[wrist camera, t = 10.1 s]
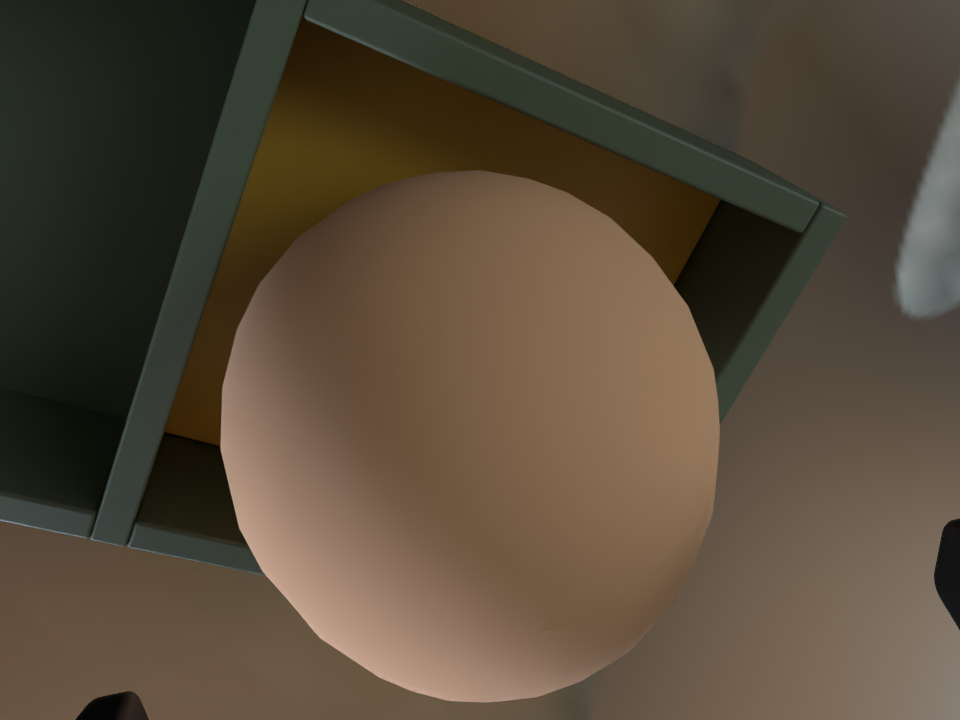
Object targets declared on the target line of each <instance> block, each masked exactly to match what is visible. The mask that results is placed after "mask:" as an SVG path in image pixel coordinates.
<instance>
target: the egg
mask: <svg viewBox="0 0 960 720" xmlns="http://www.w3.org/2000/svg"><path fill="white" fill-rule="evenodd" d="M719 438H720V426H719V407H718V397H717V389H716V382H715V375H714V368H713V366H712V364H711V361H710V359H709V356H708V354H707V351H706V349H705V346H704V344H703V341H702V339H701V336H700V334H699V332H698V329H697V327H696V324H695V322H694V319H693V317H692V314H691V312H690V309H689V307H688V305H687V304H686V303H685V301H684V300H683V298H682V297H681V296H680V294H679V293H678V292H677V290H676V289H675V287H674V286H673V285H672V283H671V282H670V281H669V279H668V278H667V276H666V275H665V274H664V272H663V271H662V270H661V268H660V267H659V265H658V264H657V263H656V261H655V260H654V258H653V257H652V256H651V255H650V254H649V253H647V252H646V251H645V250H644V249H643V248H642V247H641V246H640V245H639V244H638V243H637V242H636V241H635V240H634V239H633V238H631V237H630V236H629V235H628V234H627V233H626V232H625V231H624V230H623V229H622V228H621V227H620V226H619V225H618V224H617V223H615V222H614V221H613V220H612V219H611V218H610V217H608V216H607V215H605V214H603V213H601V212H600V211H598V210H596V209H595V208H593V207H591V206H590V205H588V204H586V203H584V202H583V201H581V200H579V199H578V198H576V197H574V196H573V195H571V194H569V193H567V192H565V191H562V190H559V189H556V188H553V187H551V186H548V185H545V184H542V183H539V182H537V181H534V180H531V179H527V178H522V177H516V176H511V175H505V174H500V173H494V172H489V171H483V170H473V171H451V172H438V173H432V174H426V175H420V176H415V177H411V178H407V179H403V180H400V181H396V182H392V183H389V184H385V185H382V186H380V187H377V188H375V189H373V190H371V191H369V192H366V193H364V194H362V195H360V196H358V197H356V198H353V199H351V200H350V201H348V202H347V203H346V204H344V205H343V206H341V207H340V208H338V209H337V210H336V211H334V212H333V213H331V214H330V215H328V216H327V217H326V218H324V219H323V220H321V221H320V222H318V223H317V224H316V225H314V226H313V227H311V228H310V229H308V230H307V231H305V232H304V233H303V234H301V235H300V236H298V238H297V239H296V240H295V241H294V242H293V244H292V245H291V246H290V247H289V248H288V250H287V251H286V252H285V253H284V255H283V256H282V257H281V258H280V259H279V261H278V262H277V263H276V264H275V265H274V267H273V268H272V269H271V270H270V271H269V273H268V274H267V275H266V276H265V277H264V279H263V280H262V281H261V282H260V284H259V285H258V287H257V289H256V291H255V293H254V295H253V298H252V300H251V302H250V304H249V306H248V308H247V310H246V312H245V314H244V316H243V318H242V320H241V322H240V324H239V326H238V328H237V331H236V335H235V339H234V343H233V347H232V351H231V355H230V359H229V363H228V367H227V371H226V375H225V379H224V383H223V387H222V415H221V446H220V449H221V454H222V458H223V462H224V466H225V470H226V475H227V479H228V483H229V487H230V492H231V496H232V500H233V504H234V508H235V513H236V517H237V521H238V525H239V529H240V530H241V532H242V534H243V536H244V538H245V540H246V542H247V543H248V545H249V547H250V549H251V551H252V553H253V555H254V556H255V558H256V560H257V562H258V564H259V566H260V568H261V570H262V571H263V573H264V574H265V575H266V576H267V577H268V578H269V579H270V580H271V582H272V583H273V584H274V585H275V586H276V587H277V588H278V589H279V590H280V592H281V593H282V594H283V595H284V596H285V597H286V598H287V599H288V601H289V602H290V603H291V604H292V605H293V607H294V608H295V609H296V610H297V611H298V613H299V614H300V615H301V616H302V617H303V619H304V620H305V621H306V622H307V623H308V625H309V626H310V627H311V628H312V629H313V631H314V632H315V633H316V634H317V635H318V636H319V638H321V639H322V640H324V641H325V642H327V643H328V644H330V645H331V646H333V647H334V648H336V649H337V650H339V651H340V652H342V653H343V654H345V655H346V656H348V657H349V658H351V659H352V660H354V661H355V662H357V663H358V664H360V665H361V666H363V667H364V668H366V669H367V670H369V671H370V672H372V673H373V674H375V675H376V676H378V677H380V678H382V679H384V680H387V681H389V682H391V683H394V684H396V685H398V686H401V687H403V688H405V689H408V690H410V691H413V692H417V693H421V694H425V695H428V696H432V697H436V698H440V699H443V700H447V701H463V702H496V701H506V700H515V699H525V698H534V697H539V696H542V695H544V694H547V693H550V692H553V691H556V690H559V689H561V688H564V687H567V686H570V685H573V684H576V683H579V682H581V681H583V680H584V679H586V678H587V677H589V676H591V675H592V674H594V673H596V672H597V671H599V670H600V669H602V668H604V667H605V666H607V665H609V664H610V663H612V662H614V661H615V660H617V659H618V658H620V657H622V656H623V655H625V654H626V653H628V652H629V651H631V650H632V648H633V647H634V646H635V645H636V644H637V643H638V642H639V641H640V639H642V637H643V636H644V635H645V634H646V633H647V632H648V631H649V630H650V629H651V628H652V626H653V625H654V624H655V623H656V622H657V621H658V620H659V619H660V618H661V617H662V615H663V614H664V613H665V612H666V611H667V610H668V609H669V608H670V607H671V606H672V605H673V603H674V602H675V601H676V600H677V598H678V596H679V593H680V591H681V589H682V587H683V585H684V583H685V581H686V579H687V577H688V575H689V573H690V571H691V569H692V567H693V564H694V562H695V559H696V557H697V554H698V551H699V549H700V546H701V543H702V541H703V538H704V535H705V533H706V530H707V527H708V525H709V522H710V519H711V517H712V514H713V506H714V496H715V487H716V478H717V468H718V454H719V453H718V452H719Z"/></svg>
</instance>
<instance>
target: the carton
mask: <svg viewBox="0 0 960 720" xmlns="http://www.w3.org/2000/svg"><path fill="white" fill-rule="evenodd" d="M473 170H483V171H489V172H494V173H500V174H505V175H511V176H516V177H522V178H527V179H531V180H534V181H537V182H539V183H542V184H545V185H548V186H551V187H553V188H556V189H559V190H562V191H565V192H567V193H569V194H571V195H573V196H574V197H576V198H578V199H579V200H581V201H583V202H584V203H586V204H588V205H590V206H591V207H593V208H595V209H596V210H598V211H600V212H601V213H603V214H605V215H607V216H608V217H610V218H611V219H612V220H613V221H614V222H615V223H617V224H618V225H619V226H620V227H621V228H622V229H623V230H624V231H625V232H626V233H627V234H628V235H629V236H630V237H631V238H633V239H634V240H635V241H636V242H637V243H638V244H639V245H640V246H641V247H642V248H643V249H644V250H645V251H646V252H647V253H649V254H650V255H651V256H652V257H653V258H654V260H655V261H656V263H657V264H658V265H659V267H660V268H661V270H662V271H663V272H664V274H665V275H666V276H667V278H668V279H669V281H670V282H671V283H672V285H673V286H674V287H675V289H676V290H677V292H678V293H679V294H680V296H681V297H682V298H683V300H684V301H685V303H686V304H687V305H688V307H689V309H690V312H691V314H692V317H693V319H694V322H695V324H696V327H697V329H698V332H699V334H700V336H701V339H702V341H703V344H704V346H705V349H706V351H707V354H708V356H709V359H710V361H711V364H712V366H713V368H714V375H715V382H716V389H717V397H718V407H719V425H720V424H721V422H722V420H723V419H724V417H725V415H726V414H727V412H728V410H729V409H730V407H731V406H732V404H733V402H734V401H735V399H736V398H737V396H738V394H739V393H740V391H741V389H742V388H743V386H744V385H745V383H746V381H747V380H748V378H749V376H750V375H751V373H752V372H753V370H754V368H755V367H756V365H757V363H758V362H759V360H760V358H761V357H762V355H763V354H764V352H765V350H766V349H767V347H768V345H769V344H770V342H771V341H772V339H773V337H774V336H775V334H776V332H777V330H778V329H779V328H780V326H781V324H782V323H783V321H784V319H785V318H786V316H787V315H788V313H789V311H790V310H791V308H792V306H793V305H794V303H795V301H796V300H797V298H798V297H799V295H800V293H801V291H802V290H803V288H804V287H805V285H806V284H807V282H808V280H809V279H810V277H811V275H812V274H813V272H814V271H815V269H816V267H817V266H818V264H819V262H820V261H821V259H822V258H823V256H824V254H825V253H826V251H827V249H828V248H829V246H830V245H831V243H832V241H833V240H834V238H835V236H836V235H837V233H838V232H839V230H840V228H841V227H842V225H843V223H844V222H845V220H846V218H847V215H846V214H845V212H843V211H841V210H839V209H837V208H835V207H834V206H832V205H830V204H828V203H826V202H825V201H823V200H821V199H819V198H817V197H816V196H814V195H812V194H810V193H808V192H806V191H805V190H803V189H801V188H799V187H798V186H796V185H794V184H792V183H790V182H789V181H787V180H785V179H783V178H781V177H779V176H778V175H776V174H774V173H772V172H771V171H768V170H767V169H765V168H763V167H761V166H760V165H758V164H756V163H754V162H752V161H750V160H748V159H746V158H744V157H742V156H739V155H737V154H735V153H733V152H731V151H728V150H726V149H724V148H722V147H720V146H718V145H715V144H713V143H711V142H709V141H707V140H704V139H702V138H700V137H698V136H696V135H694V134H691V133H689V132H687V131H685V130H683V129H680V128H678V127H676V126H674V125H672V124H670V123H667V122H665V121H663V120H661V119H659V118H656V117H654V116H652V115H650V114H648V113H646V112H643V111H641V110H639V109H637V108H635V107H632V106H630V105H628V104H626V103H624V102H622V101H619V100H617V99H615V98H613V97H611V96H608V95H606V94H604V93H602V92H600V91H598V90H595V89H593V88H591V87H589V86H587V85H584V84H582V83H580V82H578V81H576V80H574V79H571V78H569V77H567V76H565V75H563V74H560V73H558V72H556V71H554V70H552V69H550V68H547V67H545V66H543V65H541V64H539V63H536V62H534V61H532V60H530V59H528V58H526V57H523V56H521V55H519V54H517V53H515V52H512V51H510V50H508V49H506V48H504V47H502V46H499V45H497V44H495V43H493V42H491V41H489V40H486V39H484V38H482V37H480V36H478V35H475V34H473V33H471V32H469V31H467V30H465V29H462V28H460V27H458V26H456V25H454V24H451V23H449V22H447V21H445V20H443V19H441V18H438V17H436V16H434V15H432V14H430V13H427V12H425V11H423V10H421V9H419V8H417V7H414V6H412V5H410V4H408V3H406V2H403V1H401V0H0V521H4V522H9V523H13V524H18V525H23V526H28V527H33V528H38V529H42V530H47V531H52V532H57V533H62V534H66V535H71V536H76V537H81V538H88V537H89V536H90V535H91V540H93V541H98V542H103V543H108V544H113V545H117V546H122V547H124V546H126V545H127V543H128V546H129V547H130V548H134V549H139V550H144V551H148V552H153V553H158V554H163V555H168V556H173V557H177V558H182V559H187V560H192V561H197V562H202V563H206V564H211V565H216V566H221V567H226V568H230V569H235V570H240V571H245V572H250V573H255V574H259V575H264V576H266V575H265V574H264V573H263V571H262V570H261V568H260V566H259V564H258V562H257V560H256V558H255V556H254V555H253V553H252V551H251V549H250V547H249V545H248V543H247V542H246V540H245V538H244V536H243V534H242V532H241V530H240V529H239V525H238V521H237V517H236V513H235V508H234V504H233V500H232V496H231V492H230V487H229V483H228V479H227V475H226V470H225V466H224V462H223V458H222V454H221V449H220V446H221V415H222V387H223V383H224V379H225V375H226V371H227V367H228V363H229V359H230V355H231V351H232V347H233V343H234V339H235V335H236V331H237V328H238V326H239V324H240V322H241V320H242V318H243V316H244V314H245V312H246V310H247V308H248V306H249V304H250V302H251V300H252V298H253V295H254V293H255V291H256V289H257V287H258V285H259V284H260V282H261V281H262V280H263V279H264V277H265V276H266V275H267V274H268V273H269V271H270V270H271V269H272V268H273V267H274V265H275V264H276V263H277V262H278V261H279V259H280V258H281V257H282V256H283V255H284V253H285V252H286V251H287V250H288V248H289V247H290V246H291V245H292V244H293V242H294V241H295V240H296V239H297V238H298V236H300V235H301V234H303V233H304V232H305V231H307V230H308V229H310V228H311V227H313V226H314V225H316V224H317V223H318V222H320V221H321V220H323V219H324V218H326V217H327V216H328V215H330V214H331V213H333V212H334V211H336V210H337V209H338V208H340V207H341V206H343V205H344V204H346V203H347V202H348V201H350V200H351V199H353V198H356V197H358V196H360V195H362V194H364V193H366V192H369V191H371V190H373V189H375V188H377V187H380V186H382V185H385V184H389V183H392V182H396V181H400V180H403V179H407V178H411V177H415V176H420V175H426V174H432V173H438V172H451V171H473Z"/></svg>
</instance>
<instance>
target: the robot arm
mask: <svg viewBox="0 0 960 720" xmlns="http://www.w3.org/2000/svg"><path fill="white" fill-rule="evenodd" d="M934 580H935V586H936V589H937V592H938V594H939V596H940V598H941V600H942V602H943V603H944V605H945V607H946V608H947V610H948V611H949V613H950V615H951V617H952V618H953V620H954V621H955V623H956V625H957V626H958V628H959V630H960V519H956V520H952V521H950V522H948V523H947V524H946V526H945V527H944V529H943V532H942V537H941V542H940V547H939V552H938V557H937V562H936V567H935V572H934ZM76 720H149V719H148V717H147V714H146V712H145V710H144V707H143V705H142V703H141V700H140V698H139V697H138V696H137V695H136V694H135V693H134V692H129V691H127V692H122V693H117V694H112V695H108V696H103V697H98V698H96V699H94V700H92V701H91V702H90V703H89V704H88V705H87V706H86V707H85V708H84V710H83V711H82V712H81V713H80V715H79V716H78V717H77V718H76Z"/></svg>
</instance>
